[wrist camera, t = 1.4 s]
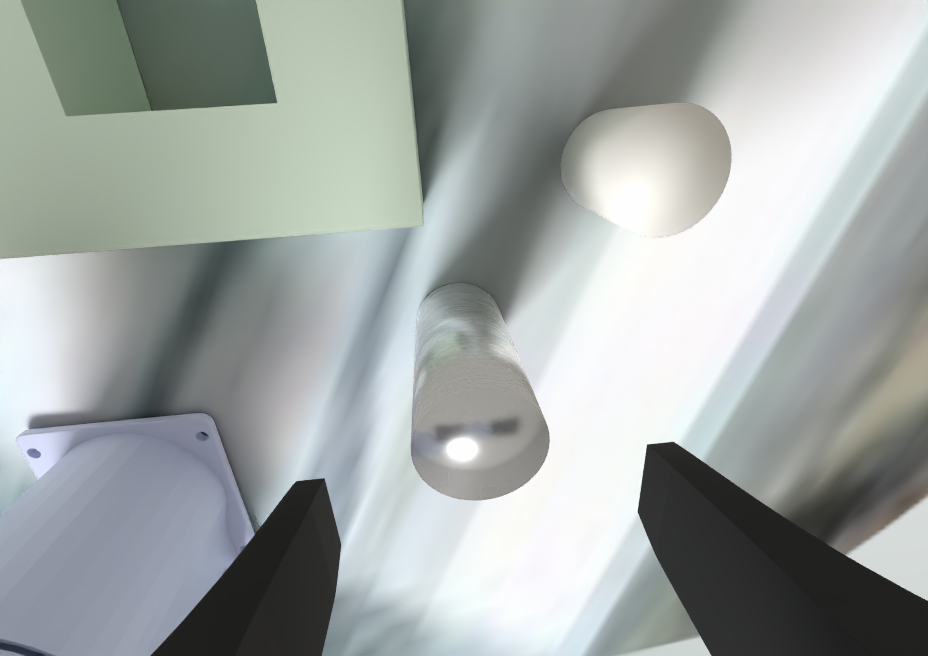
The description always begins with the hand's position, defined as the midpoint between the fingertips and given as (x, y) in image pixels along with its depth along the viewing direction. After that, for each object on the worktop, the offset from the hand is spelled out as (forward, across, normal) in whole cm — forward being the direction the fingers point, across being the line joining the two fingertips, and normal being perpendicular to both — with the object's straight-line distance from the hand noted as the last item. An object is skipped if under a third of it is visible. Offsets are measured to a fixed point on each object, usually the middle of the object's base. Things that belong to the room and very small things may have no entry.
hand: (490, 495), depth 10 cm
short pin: (+10, -6, -6) cm, 13 cm away
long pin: (+10, 0, 0) cm, 10 cm away
